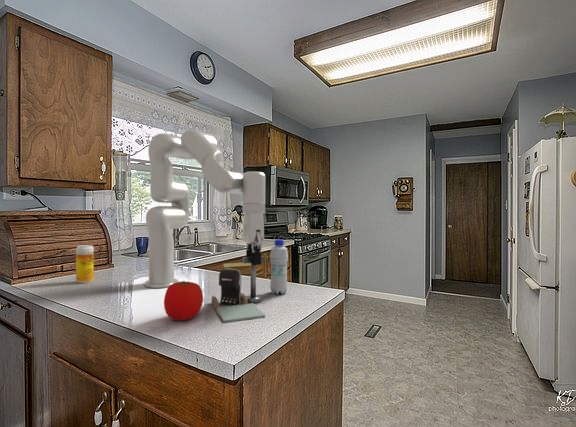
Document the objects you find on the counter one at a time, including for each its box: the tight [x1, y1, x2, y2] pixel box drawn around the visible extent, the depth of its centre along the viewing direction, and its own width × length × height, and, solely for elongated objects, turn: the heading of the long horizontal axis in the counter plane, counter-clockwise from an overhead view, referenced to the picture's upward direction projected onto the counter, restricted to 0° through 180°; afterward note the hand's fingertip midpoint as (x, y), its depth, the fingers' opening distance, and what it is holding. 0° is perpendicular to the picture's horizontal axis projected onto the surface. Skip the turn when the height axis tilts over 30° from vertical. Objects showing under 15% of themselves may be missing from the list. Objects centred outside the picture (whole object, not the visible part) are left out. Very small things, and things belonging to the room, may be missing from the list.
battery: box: [218, 268, 242, 306], centre depth 103 cm, size 7×4×11 cm, turn 70°
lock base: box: [245, 294, 262, 305], centre depth 106 cm, size 5×5×2 cm
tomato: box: [163, 280, 204, 321], centre depth 90 cm, size 10×11×11 cm
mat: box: [215, 303, 266, 324], centre depth 95 cm, size 12×12×1 cm
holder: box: [211, 292, 248, 310], centre depth 103 cm, size 7×10×2 cm
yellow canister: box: [75, 244, 95, 285], centre depth 130 cm, size 6×6×15 cm
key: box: [223, 255, 265, 298], centre depth 105 cm, size 2×13×14 cm, turn 113°
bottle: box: [269, 238, 289, 295], centre depth 117 cm, size 7×7×20 cm
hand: (253, 262), depth 106 cm, fingers open, 5 cm apart
